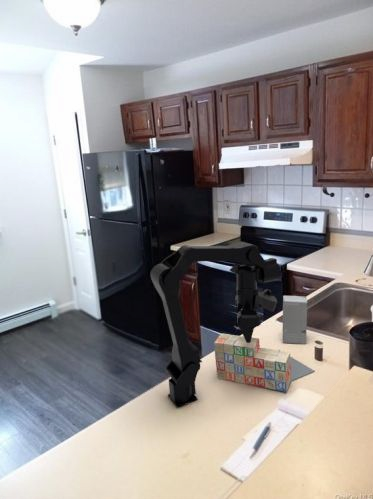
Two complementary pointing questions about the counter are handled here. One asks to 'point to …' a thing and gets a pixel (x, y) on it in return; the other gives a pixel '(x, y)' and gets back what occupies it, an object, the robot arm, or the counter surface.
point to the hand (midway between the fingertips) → (247, 335)
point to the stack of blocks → (251, 363)
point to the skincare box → (294, 319)
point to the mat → (298, 369)
